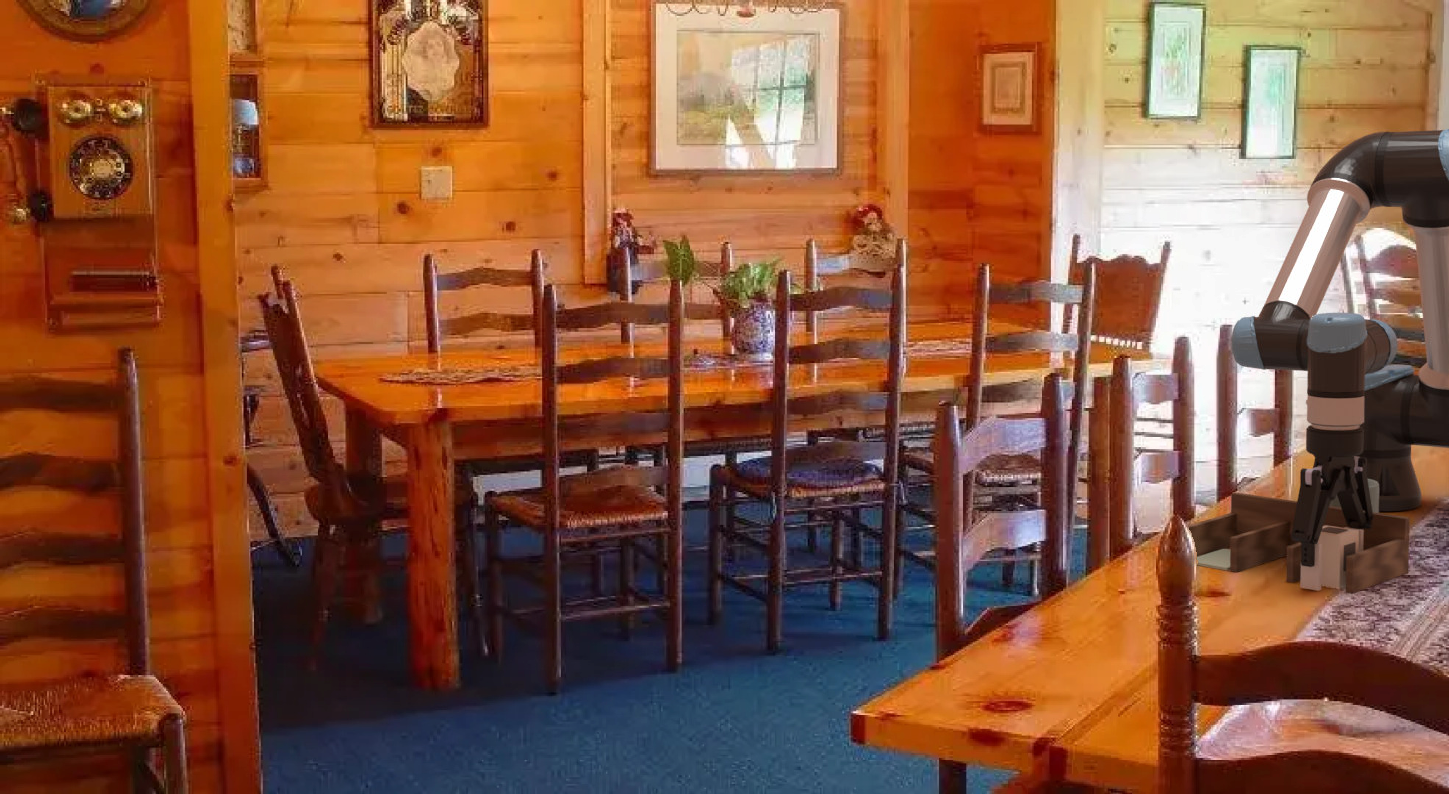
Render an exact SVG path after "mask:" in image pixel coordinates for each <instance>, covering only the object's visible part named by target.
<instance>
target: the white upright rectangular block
mask: <svg viewBox="0 0 1449 794" xmlns="http://www.w3.org/2000/svg"><path fill="white" fill-rule="evenodd" d="M1312 534H1313V533H1312ZM1318 543H1322V569H1321V585H1322V586H1321V587H1324V586H1326V587H1325V588H1329V587H1330V588H1332V589H1335V588H1336V590H1341V589H1343V588H1346V556H1349V555H1352V554H1355V553H1358V544H1359V530H1354V529H1348V528H1341V527H1334V526H1328V525H1325V526H1323V528H1322V531H1321V534H1320V537H1319V540H1318ZM1337 588H1339V589H1337ZM1340 588H1341V589H1340Z"/></svg>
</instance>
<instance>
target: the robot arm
mask: <svg viewBox="0 0 1449 794" xmlns="http://www.w3.org/2000/svg"><path fill="white" fill-rule="evenodd" d="M1306 200H1307V202H1306V203H1307V205H1308V208H1307V210H1306V213H1305V214H1304V216H1303V219H1302V220H1301V224H1300V225H1299V227H1298V230H1297V231H1296V234H1295V236H1294V238H1293V240H1292V243H1291V246H1290V247H1289V250H1288V252H1287V253H1286V256H1285V259H1284V260H1283V263H1282V265H1281V267H1280V270H1279V271H1278V274H1277V276H1276V278H1275V281H1274V282H1273V285H1272V288H1271V290H1270V291H1269V294H1268V296H1267V297H1266V300H1265V303H1264V305H1263V307H1262V309H1261V310H1260V312H1259V314H1258V316H1255V315H1251V316H1244V317H1242V318H1240V319H1238V320H1237V321H1236V323H1235V324H1234V326H1233V329H1232V334H1231V341H1230V347H1231V352H1232V355H1233V359H1234V361H1235V362H1236V363H1237V364H1238V366H1241V367H1245V368H1251V369H1258V370H1263V371H1267V370H1276V371H1277V370H1280V371H1301V372H1307V381H1306V382H1307V387H1306V388H1307V389H1306V394H1307V398H1306V400H1305V404H1306V421H1307V423H1309V424H1310V425H1308V426H1307V428H1306V431H1305V432H1306V434H1305V436H1306V437H1305V450H1306V451H1307V453H1309V454H1310V455H1312V456H1313V457H1314V462H1313V466H1312V468H1305V467H1304V468H1301V470H1300V472H1299V473H1300V474H1299V475H1300V476H1299V479H1300V480H1299V483H1300V484H1299V489H1298V496H1297V506H1296V511H1295V517H1294V522H1293V527H1292V533H1291V538H1292V539H1293V540H1294V541H1298V542H1300V543H1301V580H1299V581H1300V583H1299V585H1300V588H1302V589H1308V590H1313V591H1321V590H1322V586H1321V569H1322V543H1318V540H1319V537H1320V534H1321V531H1322V528H1323V525H1324V521H1325V518H1326V515H1327V512H1328V509H1329V506H1330V503H1331V501H1332V500H1334V499H1335V498H1336V495H1337V497H1338V500H1339V502H1340V505H1341V508H1342V511H1343V514H1344V517H1345V520H1346V523H1347V525H1348V526H1350V528H1349V527H1345V528H1348V529H1354V530H1359V544H1358V552H1361V551H1363V539H1364V530H1363V528H1364V529H1370V528H1371V527H1372V520H1373V511H1372V505H1371V498H1370V492H1369V485H1368V479H1372V480H1375V481H1377V482H1378V483H1379V512H1398V511H1399V512H1400V511H1407V510H1414V509H1418V508H1419V507H1421V505H1422V491H1421V488H1420V484H1419V480H1418V477H1417V474H1416V471H1415V468H1414V465H1413V461H1412V446H1420V447H1432V448H1444V449H1449V128H1445V129H1440V130H1439V129H1438V130H1437V129H1435V130H1409V131H1379V132H1377V131H1376V132H1372V133H1369V134H1367V135H1363V136H1362V137H1359V138H1357V139H1354V141H1352V142H1350V143H1348V144H1347V145H1345V146H1344V147H1342V148H1341V149H1340V150H1339V151H1338V152H1336V154H1334V155H1333V156H1332V157H1330V159H1328V161H1327V162H1326V163H1325V164H1324V165H1323V166H1322V167H1321V169H1320V170H1319V172H1318V173H1317V174H1316V176H1315V177H1314V179H1313V181H1312V183H1311V185H1310V188H1309V189H1308V190H1307V195H1306ZM1380 207H1385V208H1401V213H1402V214H1401V215H1402V221H1403V223H1404V224H1405V225H1406V226H1408V227H1409V228H1411V230H1414V238H1415V241H1414V242H1415V249H1416V250H1415V251H1416V259H1417V260H1416V261H1417V262H1416V263H1417V270H1418V283H1419V291H1420V292H1419V293H1420V303H1421V313H1422V319H1423V320H1422V321H1423V322H1422V323H1423V332H1424V333H1423V334H1424V342H1425V344H1424V345H1425V353H1426V354H1425V355H1426V363H1424V365H1422V366H1421V367H1420V369H1419V371H1418V373H1417V374H1415V369H1414V367H1413V366H1412V365H1410V364H1391V363H1392V362H1393V360H1394V359H1395V357H1396V355H1397V353H1398V348H1399V345H1398V344H1399V343H1398V338H1397V336H1396V333H1395V331H1394V330H1393V329H1392V327H1391V326H1390V325H1389V324H1387V323H1386V322H1384V321H1382V320H1379V319H1374V318H1369V319H1367V318H1365V317H1364V316H1363V315H1361V314H1359V313H1353V312H1325V313H1324V312H1322V313H1318V311H1319V309H1320V307H1321V305H1322V302H1323V300H1324V299H1325V296H1326V293H1327V292H1328V289H1329V286H1330V284H1331V282H1332V280H1333V278H1334V276H1335V273H1336V270H1337V268H1338V266H1339V264H1340V262H1341V259H1342V257H1343V256H1344V253H1345V250H1346V249H1347V246H1348V244H1349V242H1350V240H1351V237H1352V234H1353V232H1354V230H1355V228H1356V226H1357V224H1359V223H1362V222H1363V221H1364V220H1366V218H1367V217H1368V215H1369V213H1370V211H1371V210H1372V209H1375V208H1380ZM1390 364H1391V365H1390ZM1363 511H1365V512H1363ZM1299 531H1300V532H1299ZM1312 533H1313V534H1312Z"/></svg>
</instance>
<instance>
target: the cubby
mask: <svg viewBox="0 0 1449 794" xmlns="http://www.w3.org/2000/svg"><path fill="white" fill-rule="evenodd" d="M1230 497H1231V499H1230V502H1231V503H1230V505H1231V507H1230V511H1231V512H1230V513H1226V514H1223V515H1220V516H1216V517H1211V518H1210V519H1206V520H1202V521H1199V522H1196V523H1192V524H1189V525H1187V526H1188V527H1189V530H1190V531H1191V533H1192V537H1193V539H1194V542H1195V547H1196V552H1197V557H1198V556H1201V555H1205V554H1208V553H1211V552H1214V551H1218V550H1221V549H1228V550H1230V570H1229V572H1232V571H1233V573H1238V572H1237V571H1239V572H1241V571H1245V570H1247V568H1248V569H1250V568H1253V566H1254V567H1256V566H1260V565H1262V564H1261V563H1263V564H1266V563H1269V562H1272V561H1274V560H1278V559H1281V558H1284V557H1286V569H1285V571H1286V572H1285V574H1286V575H1285V577H1286V580H1285V581H1286V582H1288V583H1295V582H1298V581H1300V580H1301V543H1300V542H1298V541H1294V540H1293V539H1292V538H1291V533H1292V527H1293V522H1294V517H1295V511H1296V506H1297V501H1296V500H1290V499H1282V498H1276V497H1270V496H1263V495H1255V494H1248V493H1242V492H1233V493H1231V494H1230ZM1363 512H1365V511H1363ZM1410 520H1411V519H1410V517H1409V516H1408V517H1407V516H1402V515H1394V514H1389V513H1381V512H1379V513H1375V512H1373V520H1372V527H1371V528H1370V529H1364V528H1363V530H1364V539H1363V551H1361V552H1358V553H1355V554H1352V555H1349V556H1346V587H1345V593H1349V594H1354V593H1357V592H1360V591H1363V590H1366V589H1367V588H1370V587H1373V586H1376V585H1378V584H1381V583H1384V582H1387V581H1389V580H1393V579H1395V578H1397V577H1401V576H1402V575H1405V574H1408V573H1409V566H1410V565H1409V563H1410V562H1409V560H1410V559H1409V558H1410V557H1409V556H1410V555H1409V554H1410V553H1409V552H1410V525H1411V524H1410V523H1411V521H1410ZM1325 525H1328V526H1334V527H1341V528H1345V527H1349V528H1350V526H1348V525H1347V523H1346V520H1345V517H1344V514H1343V511H1342V508H1340V507H1333V506H1329V509H1328V512H1327V515H1326V518H1325V521H1324V525H1323V526H1325ZM1299 532H1300V531H1299ZM1271 560H1272V561H1271ZM1265 562H1266V563H1265ZM1259 564H1260V565H1259ZM1244 569H1245V570H1244Z"/></svg>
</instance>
